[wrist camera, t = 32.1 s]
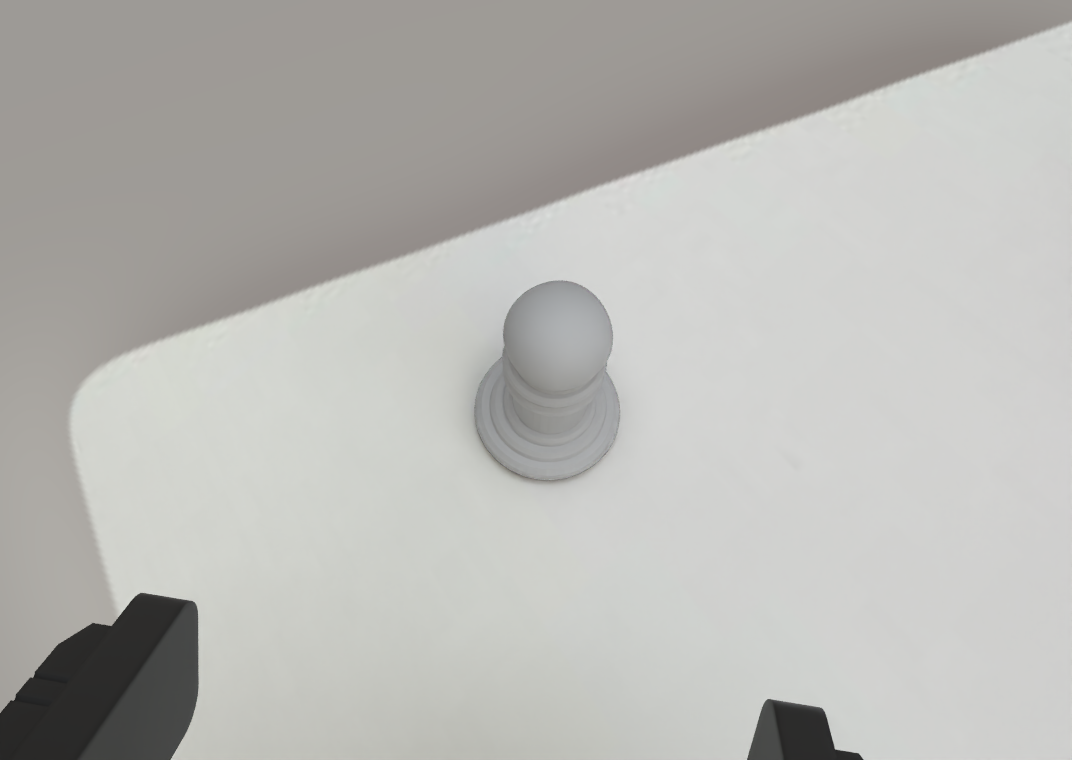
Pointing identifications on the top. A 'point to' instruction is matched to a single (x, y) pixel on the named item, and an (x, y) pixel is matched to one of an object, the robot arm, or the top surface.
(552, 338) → the chess piece
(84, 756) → the robot arm
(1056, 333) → the top surface
